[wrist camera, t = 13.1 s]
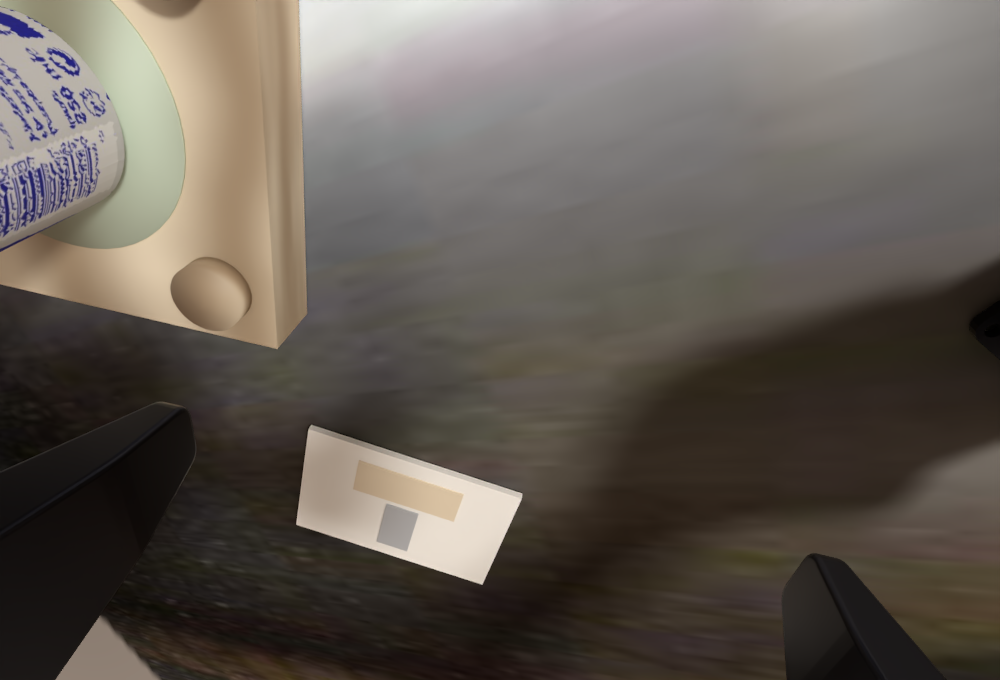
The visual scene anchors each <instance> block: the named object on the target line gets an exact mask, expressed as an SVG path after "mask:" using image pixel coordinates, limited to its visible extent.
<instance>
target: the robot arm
mask: <svg viewBox="0 0 1000 680" xmlns="http://www.w3.org/2000/svg"><path fill="white" fill-rule="evenodd" d="M992 324H996V326H995V327H994V328H993V329H991V330H988V331H985V329H986V328H987V327H988V326H990V325H992ZM969 330H970V332H971V333H972V334H973V336H974V337H975V338H976V339H977V340H978V341H979V342H980V343H981V344H982V345H984V346H985V347H986V348H987V349H988V350H989V351H990V352H991V353H993V354H994V355H995V356H996V357H997V358H998V359H999V360H1000V301H998V302H997V303H995V304H994V305H992V306H991V307H989V308H988V309H986V310H985V311H983V312H982V313H980V314H979V315H977V316H976V317H975V318H974V319H973V320H972V321H971V323H970V326H969ZM195 455H196V441H195V436H194V430H193V425H192V420H191V415H190V412H189V411H188V409H187V408H186V407H184V406H180V405H175V404H171V403H167V402H156V403H153V404H150V405H148V406H146V407H144V408H141V409H139V410H137V411H135V412H132V413H130V414H128V415H126V416H124V417H121V418H119V419H117V420H115V421H112V422H110V423H108V424H106V425H103V426H101V427H99V428H97V429H94V430H92V431H90V432H88V433H86V434H83V435H81V436H79V437H77V438H74V439H72V440H70V441H68V442H65V443H63V444H61V445H59V446H56V447H54V448H52V449H50V450H48V451H45V452H43V453H41V454H39V455H36V456H34V457H32V458H30V459H27V460H25V461H23V462H21V463H18V464H16V465H14V466H12V467H10V468H7V469H5V470H3V471H1V472H0V680H55V679H56V678H57V676H58V675H59V674H60V672H61V671H62V669H63V667H64V666H65V665H66V664H67V662H68V661H69V659H70V658H71V656H72V655H73V653H74V652H75V651H76V649H77V647H78V646H79V645H80V643H81V642H82V640H83V639H84V638H85V636H86V635H87V633H88V632H89V630H90V629H91V628H92V626H93V625H94V623H95V622H96V620H97V619H98V617H99V616H100V615H101V613H102V612H103V610H104V609H105V607H106V606H107V605H108V603H109V602H110V600H111V599H112V597H113V596H114V594H115V593H116V592H117V590H118V589H119V587H120V586H121V584H122V583H123V582H124V580H125V579H126V577H127V576H128V574H129V573H130V571H131V570H132V568H133V567H134V565H135V564H136V562H137V561H138V559H139V558H140V556H141V555H142V553H143V552H144V550H145V548H146V546H147V545H148V543H149V541H150V540H151V538H152V536H153V534H154V532H155V531H156V529H157V527H158V525H159V523H160V522H161V520H162V518H163V516H164V514H165V512H166V511H167V509H168V507H169V505H170V503H171V502H172V500H173V498H174V496H175V494H176V493H177V491H178V489H179V487H180V485H181V484H182V482H183V480H184V478H185V476H186V474H187V473H188V471H189V469H190V467H191V465H192V463H193V461H194V459H195ZM782 615H783V630H784V645H785V660H786V675H787V680H947V679H946V678H945V677H944V676H943V675H942V674H941V672H940V671H939V670H938V669H937V668H936V667H935V665H934V664H933V663H932V662H931V661H930V660H929V659H928V657H927V656H926V655H925V654H924V653H923V652H922V650H921V649H920V648H919V647H918V646H917V645H916V644H915V642H914V641H913V640H912V639H911V638H910V637H909V635H908V634H907V633H906V632H905V631H904V630H903V628H902V627H901V626H900V625H899V624H898V623H897V622H896V620H895V619H894V618H893V617H892V616H891V615H890V613H889V612H888V611H887V610H886V609H885V608H884V606H883V605H882V604H881V603H880V602H879V601H878V600H877V598H876V597H875V596H874V595H873V594H872V593H871V591H870V590H869V589H868V588H867V587H866V586H865V585H864V583H863V582H862V581H861V580H860V579H859V578H858V576H857V575H856V574H855V573H854V572H853V571H852V569H851V568H850V567H849V566H848V565H847V564H846V563H845V562H843V561H842V560H840V559H838V558H834V557H829V556H825V555H821V554H817V553H812V554H810V555H808V556H807V557H806V558H805V559H804V560H803V562H802V563H801V564H800V566H799V567H798V569H797V570H796V571H795V573H794V574H793V576H792V577H791V578H790V580H789V581H788V583H787V584H786V586H785V588H784V590H783V595H782Z"/></svg>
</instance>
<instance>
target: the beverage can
mask: <svg viewBox="0 0 1000 680" xmlns="http://www.w3.org/2000/svg"><path fill="white" fill-rule="evenodd" d="M124 159H125V154H124V140H123V135H122V130H121V127H120V123H119V120H118V117H117V114H116V111H115V109H114V107H113V104H112V102H111V100H110V98H109V96H108V94H107V93H106V91H105V89H104V88H103V86H102V85H101V83H100V81H99V80H98V78H97V77H96V75H95V74H94V72H93V71H92V70H91V69H90V67H89V66H88V65H87V64H86V63H85V61H84V60H83V59H82V58H81V56H79V55H78V54H77V52H76V51H75V50H73V49H72V48H71V47H70V46H69V45H68V44H67V43H66V42H65V41H64V40H63V39H61V38H60V37H59V36H58V35H56V34H55V33H54V32H53V31H51V30H50V29H49V28H47V27H45V26H44V25H42V24H41V23H39V22H38V21H36V20H34V19H32V18H30V17H28V16H26V15H24V14H22V13H20V12H17V11H15V10H12V9H9V8H5V7H1V6H0V252H1V251H3V250H5V249H7V248H9V247H11V246H13V245H15V244H17V243H19V242H21V241H23V240H25V239H27V238H29V237H31V236H33V235H35V234H37V233H39V232H41V231H43V230H45V229H47V228H49V227H51V226H53V225H55V224H57V223H59V222H61V221H63V220H65V219H67V218H69V217H71V216H73V215H75V214H77V213H78V212H80V211H82V210H84V209H86V208H88V207H90V206H92V205H94V204H96V203H98V202H100V201H102V200H103V199H105V198H106V197H107V196H109V195H110V194H111V193H112V191H113V190H114V189H115V188H116V186H117V184H118V182H119V180H120V178H121V175H122V172H123V167H124Z"/></svg>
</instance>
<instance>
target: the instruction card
mask: <svg viewBox="0 0 1000 680" xmlns="http://www.w3.org/2000/svg"><path fill="white" fill-rule="evenodd" d="M521 499H522V493H519V492H516V491H513V490H510V489H507V488H504V487H501V486H498V485H495V484H492V483H489V482H486V481H482V480H479V479H476V478H473V477H470V476H467V475H464V474H461V473H458V472H455V471H452V470H449V469H446V468H443V467H440V466H436V465H433V464H430V463H427V462H424V461H421V460H418V459H415V458H412V457H409V456H406V455H403V454H400V453H397V452H393V451H390V450H387V449H384V448H381V447H378V446H375V445H372V444H369V443H366V442H363V441H360V440H357V439H354V438H351V437H347V436H344V435H341V434H338V433H335V432H332V431H329V430H326V429H323V428H320V427H317V426H314V425H311V426H310V427H309V429H308V436H307V444H306V451H305V459H304V467H303V475H302V483H301V490H300V498H299V506H298V514H297V522H296V525H299V526H302V527H305V528H308V529H311V530H314V531H318V532H321V533H324V534H327V535H330V536H333V537H336V538H339V539H342V540H345V541H349V542H352V543H355V544H358V545H361V546H364V547H367V548H370V549H373V550H376V551H380V552H383V553H386V554H389V555H392V556H395V557H398V558H401V559H404V560H407V561H411V562H414V563H417V564H420V565H423V566H426V567H429V568H432V569H435V570H438V571H442V572H445V573H448V574H451V575H454V576H457V577H460V578H463V579H466V580H469V581H473V582H476V583H479V584H483V582H484V580H485V578H486V575H487V573H488V571H489V569H490V567H491V565H492V562H493V560H494V558H495V556H496V554H497V551H498V549H499V547H500V545H501V543H502V541H503V538H504V536H505V534H506V532H507V530H508V527H509V525H510V523H511V521H512V519H513V517H514V514H515V512H516V510H517V508H518V506H519V503H520V501H521Z"/></svg>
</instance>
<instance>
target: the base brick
mask: <svg viewBox="0 0 1000 680" xmlns="http://www.w3.org/2000/svg"><path fill="white" fill-rule="evenodd" d="M0 6H1V7H5V8H9V9H12V10H15V11H17V12H20V13H22V14H24V15H26V16H28V17H30V18H32V19H34V20H36V21H38V22H39V23H41V24H42V25H44V26H45V27H47V28H49V29H50V30H51V31H53V32H54V33H55V34H56V35H58V36H59V37H60V38H61V39H63V40H64V41H65V42H66V43H67V44H68V45H69V46H70V47H71V48H72V49H73V50H75V51H76V52H77V54H78V55H79V56H81V58H82V59H83V60H84V61H85V63H86V64H87V65H88V66H89V67H90V69H91V70H92V71H93V72H94V74H95V75H96V77H97V78H98V80H99V81H100V83H101V85H102V86H103V88H104V89H105V91H106V93H107V94H108V96H109V98H110V100H111V102H112V104H113V107H114V109H115V111H116V114H117V117H118V120H119V123H120V127H121V130H122V135H123V140H124V154H125V159H124V167H123V172H122V175H121V178H120V180H119V182H118V184H117V186H116V188H115V189H114V190H113V191H112V193H111V194H110V195H109V196H107V197H106V198H105V199H103V200H102V201H100V202H98V203H96V204H94V205H92V206H90V207H88V208H86V209H84V210H82V211H80V212H78V213H77V214H75V215H73V216H71V217H69V218H67V219H65V220H63V221H61V222H59V223H57V224H55V225H53V226H51V227H49V228H47V229H45V230H43V231H41V232H39V233H37V234H35V235H33V236H31V237H29V238H27V239H25V240H23V241H21V242H19V243H17V244H15V245H13V246H11V247H9V248H7V249H5V250H3V251H1V252H0V284H1V285H5V286H10V287H14V288H18V289H22V290H27V291H31V292H35V293H40V294H44V295H48V296H52V297H57V298H61V299H65V300H70V301H74V302H78V303H82V304H87V305H91V306H95V307H100V308H104V309H108V310H113V311H117V312H121V313H125V314H130V315H134V316H138V317H143V318H147V319H151V320H155V321H160V322H164V323H168V324H173V325H177V326H181V327H185V328H190V329H194V330H198V331H203V332H207V333H211V334H215V335H220V336H224V337H228V338H233V339H237V340H241V341H246V342H250V343H254V344H258V345H263V346H267V347H271V348H276V349H278V348H279V346H280V345H281V344H282V343H283V342H284V341H285V339H286V338H287V337H288V336H289V335H290V333H291V332H292V331H293V330H294V329H295V327H296V326H297V325H298V324H299V323H300V322H301V320H302V319H303V318H304V317H305V316H306V314H307V290H306V253H305V216H304V178H303V141H302V103H301V66H300V28H299V0H0Z"/></svg>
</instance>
